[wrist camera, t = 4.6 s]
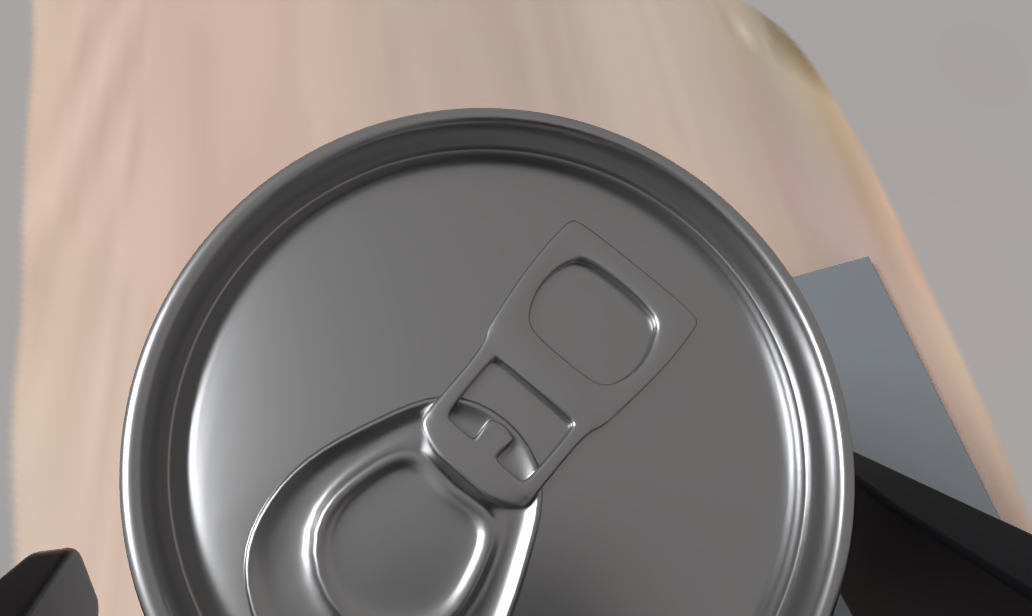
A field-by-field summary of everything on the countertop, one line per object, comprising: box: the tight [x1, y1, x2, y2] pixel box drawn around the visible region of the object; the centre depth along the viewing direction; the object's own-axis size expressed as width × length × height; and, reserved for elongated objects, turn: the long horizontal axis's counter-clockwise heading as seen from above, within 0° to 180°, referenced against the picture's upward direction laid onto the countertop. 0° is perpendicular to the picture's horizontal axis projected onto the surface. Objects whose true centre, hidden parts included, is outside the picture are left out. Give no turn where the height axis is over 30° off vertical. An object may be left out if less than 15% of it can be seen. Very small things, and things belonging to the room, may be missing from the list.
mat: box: [793, 256, 1001, 616], centre depth 18 cm, size 10×10×1 cm
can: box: [119, 108, 855, 616], centre depth 11 cm, size 6×6×12 cm
